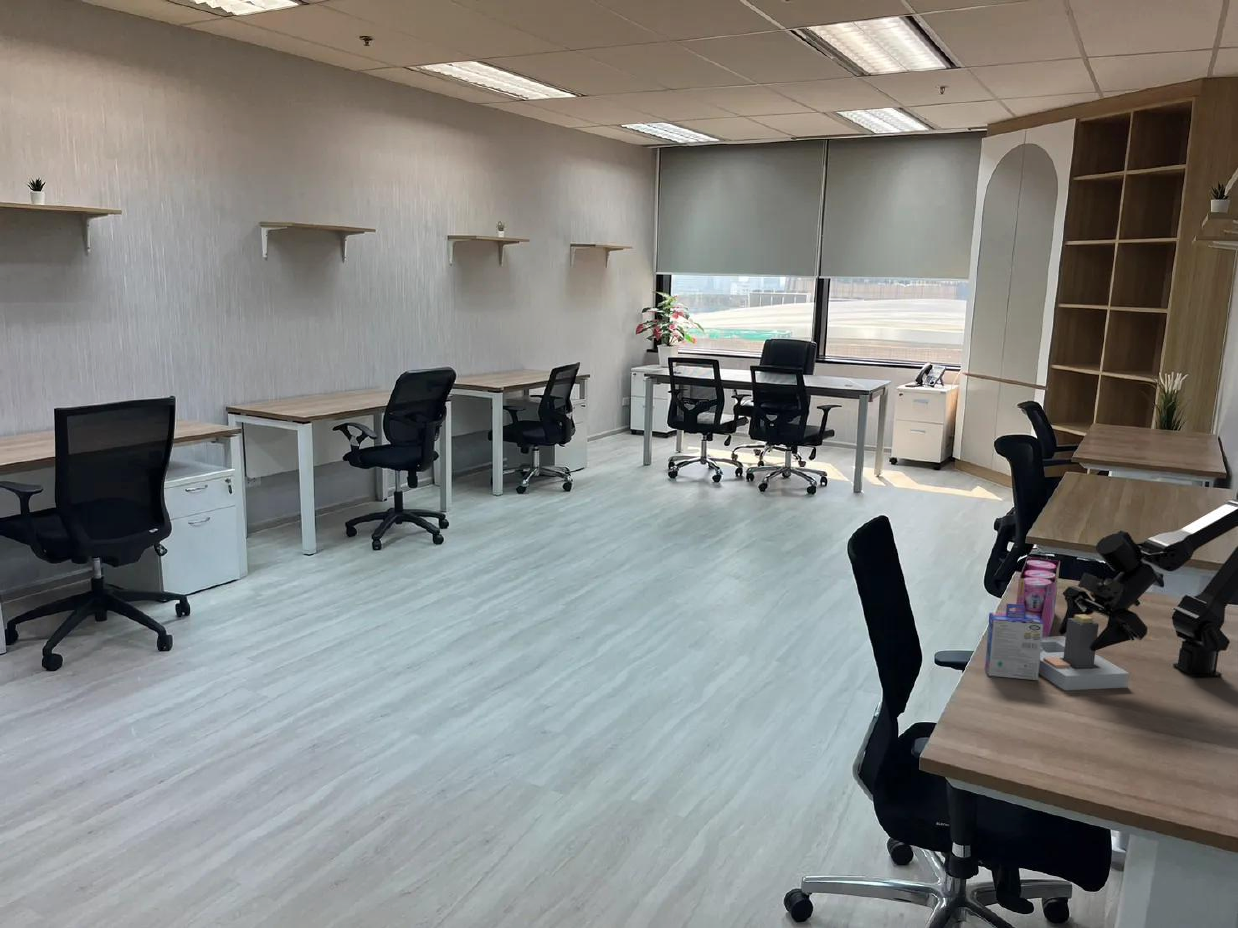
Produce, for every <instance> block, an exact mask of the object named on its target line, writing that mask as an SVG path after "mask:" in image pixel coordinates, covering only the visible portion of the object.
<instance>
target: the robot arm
mask: <svg viewBox="0 0 1238 928" xmlns="http://www.w3.org/2000/svg"><path fill="white" fill-rule="evenodd" d="M1237 527H1238V499H1236V498H1235V499H1234V498H1232V499H1229V500H1227V501H1226V502H1224V504H1223V505H1221V506H1219V507H1218V508H1216V509H1214V510H1213V511H1210V512H1209V513H1207V514H1205V515H1204V516H1202V517H1200V518H1199V519H1196V520H1195V521H1193V522H1191V523H1189V524H1188V525H1186V526H1184V527H1183V528H1180V529H1178V530H1175V531H1169V532H1162V533H1160V534H1157V535H1153V536H1151V537H1149V538H1147V539H1146V540H1144V541H1141V542H1135V541H1134V540H1133V538H1132V536H1131V535H1130V533H1129V531H1125V530H1121V529H1120V530H1119V531H1118V532H1117V533H1111V534H1109V535H1107V536H1105V537H1102V538H1100V539H1099V541H1098V542H1097V544H1096V545H1095V546H1096V547H1095V551H1096V552H1097V553H1098V555H1099V556H1100V557H1101V558H1102V560H1104V562H1105V563H1106V564H1107V565H1108V567H1110V569H1111V570H1112V571H1113V572H1115V573H1119V574H1118V575H1117V576H1116V577H1115V578H1114V579H1112V578H1110V577H1108V578H1107V577H1106V579H1105V580H1104V579H1101V578H1099V577H1097V576H1094V575H1092V574H1089V573H1087V572H1084V573H1083V575H1082V577H1081V578H1080V580H1079V583H1078V584H1077V586H1074V585H1073V586H1068V587H1067V588H1066V589H1065V590H1064V591H1063V592H1062V595H1063V596H1064V601H1065V602H1066V607H1067V608H1066V611H1065V614H1064V617H1063V619H1062V622H1061V624H1060V626H1059V629H1058V634H1059V635H1060V636H1064V635H1066V631H1067V622H1068V618H1074V616H1075V615H1081V614H1085V615H1087V616H1090V615H1092V614H1094V613H1096V614H1098V615H1100V616H1103V617H1105V618H1107V624H1106V627H1105V628H1104V629H1103V630H1102V631H1101V632H1100V633H1099V635H1097V638H1096V639H1095V640H1094V642H1093V643H1092V644H1091V646H1090V647H1089V648H1090V649H1091V650H1092V651H1095V652H1096V651H1099V650H1101V649H1104V648H1107V647H1110V646H1114V645H1116V644H1120V643H1125V642H1128V641H1131V642H1133V641H1135V639H1136V640H1138V641H1142V640H1143V639H1144V637H1146V636H1147V634H1148V629H1149V628H1148V626H1147V625H1146V624H1145V623H1144V622H1143V620H1142V619H1141V618H1140V617H1139V615H1138V614H1137V613H1136V612H1133V611H1131V610H1129V609H1130V608H1131V607H1132V606H1135V607H1139V605H1141V602H1140V600H1139V599H1140V598H1141V597H1142V596H1143V595H1144V594H1145V592H1147V591H1148V590H1149V588H1151V586H1152V585H1154V586H1156V587H1159V588H1161V589H1162V588H1164V587H1165V580H1164V573H1162V572H1159V571H1156V570H1155V569H1154V568H1153V567H1156V568H1158V569H1160V570H1163V571H1167V572H1175V571H1177V570H1179V569H1180V568H1181V567H1183V566H1184V565H1186V564H1187V563H1188V562H1189V561H1190V560H1191V559H1192V557H1193V555H1194V552H1195V551H1197V550H1198V549H1200V548H1201V547H1203V546H1205V545H1207V544H1208V543H1210V542H1212V541H1214V540H1215V539H1217V538H1219V537H1221V536H1223V535H1224V534H1227V533H1228V532H1230V531H1232V530H1234V529H1235V528H1237ZM1152 566H1153V567H1152ZM1082 588H1083V589H1085V590H1087V591H1088V592H1089V594H1088V593H1087V591H1085V590H1083V589H1082ZM1237 592H1238V545H1237V546H1236V547H1235V548H1234V550H1233V551H1232V553H1231V554H1230V555H1229V556H1228V557H1227V559H1226V560H1225V561H1224V563H1223V564H1222V566H1221V567H1220V568H1219V570H1218V571H1217V572H1216V573H1215V574H1214V576H1213V577H1212V579H1211V580H1210V581H1209V583H1208V584H1207V585H1206V587H1204V589H1203V590H1202V592H1200V593H1199V594H1197V595H1194V596H1191V595H1189V594H1184V596H1183V597H1182V598H1181V600H1180V601H1179V603H1178V605H1176V606H1175V607H1174V608H1173V614H1172V616H1171V620H1172V626H1173V628H1174V629H1175V633H1176V637H1177V638H1180V639H1183V640H1182V641H1181V648H1179V653H1178V661H1177V663H1172V666H1173V668H1177V669H1178V670H1180V671H1182V672H1183V673H1186V674H1188V675H1190V676H1191V677H1194V678H1209V677H1210V678H1211V677H1212V678H1213V677H1222V676H1223V673H1221V672H1219V671H1217V667H1218V666H1217V665H1218V662H1219V660H1218V659H1219V655H1220V654H1219V653H1221V651H1227V649H1228V647H1229V645H1230V643H1231V642H1230V639H1229V638H1228V637H1227V636H1226V635H1225V633H1224V632H1223V631H1222V630H1221V629H1222V627H1223V625H1224V623H1225V617H1226V615H1225V614H1226V607H1227V606H1228V604H1229V603H1230V602H1231V600H1232V599H1233V598H1234V597H1235V596H1236V594H1237ZM1092 598H1093V599H1094V600H1093V599H1092Z"/></svg>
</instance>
